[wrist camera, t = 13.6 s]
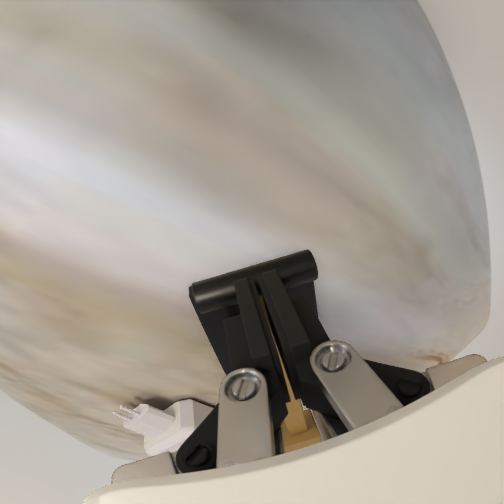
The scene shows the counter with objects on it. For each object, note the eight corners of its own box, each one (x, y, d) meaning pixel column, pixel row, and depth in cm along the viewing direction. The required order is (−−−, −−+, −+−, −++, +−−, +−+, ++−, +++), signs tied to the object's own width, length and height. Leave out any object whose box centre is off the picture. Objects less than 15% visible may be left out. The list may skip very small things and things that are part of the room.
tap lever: (193, 274, 13) (189, 295, 11) (301, 243, 13) (319, 257, 11) (263, 448, 17) (269, 475, 14) (334, 426, 17) (346, 451, 14)
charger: (140, 371, 25) (250, 417, 32) (102, 406, 27) (203, 444, 34) (136, 411, 21) (258, 450, 27) (97, 440, 23) (207, 473, 29)
